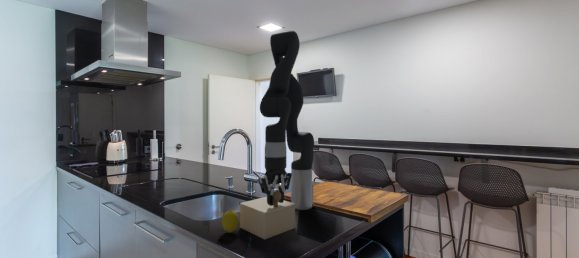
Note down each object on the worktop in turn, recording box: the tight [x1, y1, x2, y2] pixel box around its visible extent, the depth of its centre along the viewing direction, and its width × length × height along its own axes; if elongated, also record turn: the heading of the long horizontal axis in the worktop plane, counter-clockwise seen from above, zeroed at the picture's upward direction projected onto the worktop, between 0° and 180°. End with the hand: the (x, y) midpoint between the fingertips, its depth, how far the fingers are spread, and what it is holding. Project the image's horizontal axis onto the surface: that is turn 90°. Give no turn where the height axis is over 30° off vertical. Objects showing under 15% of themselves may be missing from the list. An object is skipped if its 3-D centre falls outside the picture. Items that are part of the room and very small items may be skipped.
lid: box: [239, 189, 295, 215], centre depth 104 cm, size 14×14×6 cm
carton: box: [239, 205, 296, 240], centre depth 104 cm, size 14×14×8 cm
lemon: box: [221, 209, 240, 234], centre depth 100 cm, size 6×6×8 cm
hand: (275, 203), depth 101 cm, fingers closed on lid, 4 cm apart
